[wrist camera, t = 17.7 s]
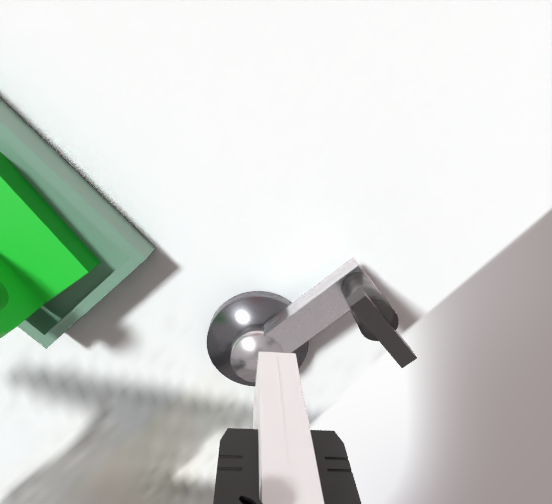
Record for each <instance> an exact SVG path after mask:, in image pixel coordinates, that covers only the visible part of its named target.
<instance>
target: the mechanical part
mask: <svg viewBox="0 0 552 504" xmlns="http://www.w3.org/2000/svg"><path fill="white" fill-rule="evenodd" d="M99 263H100V261H99V260H98V259H97V258H96V257H95V256H94V255H93V253H92V252H91V251H90V250H89V249H88V248H87V247H86V246H85V245H84V243H83V242H82V241H81V240H80V239H79V238H78V237H77V236H76V235H75V233H74V232H73V231H72V230H71V229H70V228H69V227H68V226H67V225H66V223H65V222H64V221H63V220H62V219H61V218H60V217H59V216H58V215H57V213H56V212H55V211H54V210H53V209H52V208H51V207H50V206H49V205H48V203H47V202H46V201H45V200H44V199H43V198H42V197H41V196H40V195H39V193H38V192H37V191H36V190H35V189H34V188H33V187H32V186H31V185H30V183H29V182H28V181H27V180H26V179H25V178H24V177H23V176H22V175H21V173H20V172H19V171H18V170H17V169H16V168H15V167H14V166H13V165H12V164H11V162H10V161H9V160H8V159H7V158H6V157H5V156H4V155H3V154H2V153H1V152H0V338H1V337H3V336H4V335H6V334H7V333H8V332H10V331H11V330H13V329H14V328H15V327H17V326H18V325H19V324H21V323H22V322H23V321H24V320H25V319H27V318H28V317H29V316H30V315H32V314H33V313H34V312H35V311H36V310H38V309H39V308H40V307H41V306H42V305H44V304H45V303H46V302H48V301H49V300H50V299H52V298H53V297H55V296H56V295H57V294H59V293H60V292H62V291H63V290H65V289H66V288H67V287H69V286H70V285H72V284H73V283H74V282H76V281H77V280H79V279H80V278H81V277H83V276H84V275H86V274H87V273H89V272H90V271H91V270H92V269H93V268H94V267H96V266H97V265H98V264H99Z"/></svg>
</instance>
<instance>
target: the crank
mask: <svg viewBox="0 0 552 504" xmlns="http://www.w3.org/2000/svg"><path fill="white" fill-rule="evenodd" d="M350 310H351V312H352V314H353V316H354V318H355V320H356V322H357V324H358V326H359V329H360V331H361V333H362V334H363V335H364V336H365V337H366V338H368V339H370V340H373V341H380V343H381V344H382V345H383V346H384V347H385V349H386V350H387V351H388V352H389V353H390V354H391V356H392V357H393V358H394V359H395V360H396V361H397V363H398V364H399V365H400V366H401V367H402V368H403V367H405V366H406V365H407V364H409V363H410V362H412V361H414V360H415V359H416V358H417V357H416V356H415V354H414V353H413V351H412V350H411V348H410V347H409V346H408V345H407V343H406V342H405V341H404V340H403V338H402V337H401V336H400V335H399V334H398V332H397V331H396V329H397V327H398V317H397V314H396V313H395V312H394V310H393V309H392V307H391V306H390V305H389V303H388V302H387V300H386V299H385V298H384V296H383V295H382V293H381V292H380V291H379V289H378V288H377V287H376V285H375V284H374V282H373V281H372V280H371V278H370V277H369V276H368V275H367V274H366V273H365V272H364V271H363V269H362V268H361V267H360V266H359V264H358V263H357V262H356V261H355V259H354V258H352V259H350V260H349V261H348V262H346V263H345V264H344V265H342V266H341V267H340V268H338V269H337V270H336V271H334V272H333V273H332V274H330V275H329V276H328V277H326V278H325V279H324V280H322V281H321V282H320V283H318V284H317V285H316V286H314V287H313V288H312V289H310V290H309V291H308V292H306V293H305V294H304V295H302V296H301V297H300V298H298V299H297V300H296V301H294V302H293V303H292V304H290V305H289V306H288V307H286V308H285V309H284V310H282V311H281V312H280V313H278V314H277V315H276V316H274V317H273V318H272V319H270V320H269V321H268V322H266V323H265V324H253V325H249V326H246V327H244V328H243V329H241V330H240V331H239V332H238V333H237V334H236V335H235V337H234V339H233V343H232V350H231V358H230V361H231V366H232V368H233V370H234V372H235V373H236V374H237V375H238V376H239V377H241V378H242V379H244V380H247V381H250V382H256V374H257V363H258V353H259V352H277V353H291V352H293V351H294V350H296V349H297V348H298V347H300V346H301V345H303V344H304V343H305V342H307V341H308V340H309V339H311V338H312V337H314V336H315V335H316V334H318V333H319V332H321V331H322V330H323V329H325V328H326V327H327V326H329V325H330V324H332V323H333V322H334V321H336V320H337V319H339V318H340V317H341V316H343V315H344V314H345V313H347V312H348V311H350Z"/></svg>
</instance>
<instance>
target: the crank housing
mask: <svg viewBox="0 0 552 504" xmlns="http://www.w3.org/2000/svg"><path fill="white" fill-rule="evenodd" d="M290 304H292V303H291V302H290V301H288V300H287V299H285V298H284V297H282V296H280V295H277V294H274V293H270V292H264V291H253V292H246V293H242V294H239V295H237V296H235V297H233V298H231V299H229V300H228V301H226V302H225V303H224V304H223V305H222V306H221V307H220V308H219V309H218V310H217V311H216V313H215V314H214V316H213V318H212V321H211V323H210V327H209V331H208V335H207V349H208V354H209V356H210V359H211V361H212V363H213V364H214V366H215V367H216V368H217V369H218V370H219V371H220V372H221V373H222V374H223V375H224V376H225V377H227V378H229V379H230V380H232V381H235V382H237V383H240V384H243V385H248V386H255V385H256V382H250V381H247V380H244V379H242V378H241V377H239V376H238V375H237V374H236V373H235V372H234V370H233V368H232V366H231V361H230V358H231V350H232V343H233V339H234V337H235V335H236V334H237V333H238V332H239V331H240V330H241V329H243V328H244V327H246V326H249V325H253V324H265V323H266V322H268V321H269V320H270V319H272V318H273V317H274V316H276V315H277V314H278V313H280V312H281V311H282V310H284V309H285V308H286V307H288V306H289V305H290ZM308 341H309V340H308ZM308 341H307V342H305V343H304V344H303V345H301V346H300V347H298V348H297V349H296V350H294V351H293V352H291V353H296V358H297V364H298V368H299V367H300V365H301V364H302V363H303V361H304V359H305V357H306V354H307V350H308Z"/></svg>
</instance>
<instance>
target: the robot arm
mask: <svg viewBox="0 0 552 504" xmlns="http://www.w3.org/2000/svg"><path fill="white" fill-rule="evenodd" d="M213 504H361V501H360V498H359V494H358V491H357V487H356V484H355V481H354V477H353V474H352V472H351V467H350V463H349V461H348V456H347V453H346V450H345V446H344V443H343V442H342V441H341V439H340V438H339V437H338V436H337V434H336V433H335V431H321V430H320V431H319V430H310V426H309V421H308V416H307V411H306V406H305V400H304V395H303V390H302V385H301V379H300V374H299V369H298V364H297V358H296V353H277V352H259V353H258V363H257V374H256V385H255V395H254V406H253V429H234V428H228V429H227V431H226V432H225V434H224V435H223V437H222V438H221V440H220V447H219V457H218V466H217V475H216V484H215V493H214V503H213Z"/></svg>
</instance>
